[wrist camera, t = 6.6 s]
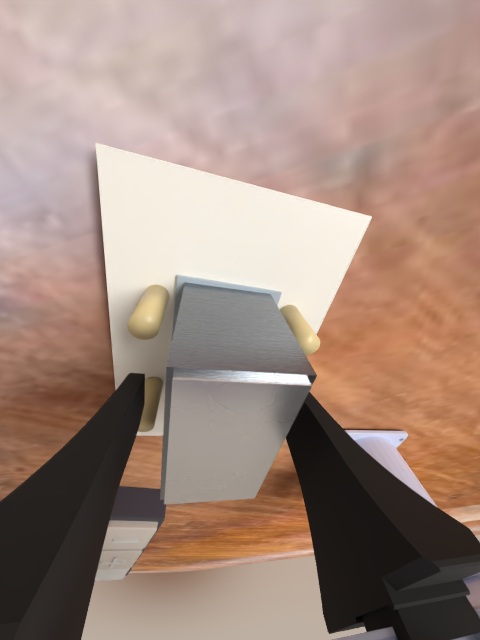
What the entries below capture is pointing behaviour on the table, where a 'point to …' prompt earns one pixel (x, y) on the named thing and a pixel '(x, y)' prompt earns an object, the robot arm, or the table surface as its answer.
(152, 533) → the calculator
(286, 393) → the block
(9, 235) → the table surface
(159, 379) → the cream pegged board
